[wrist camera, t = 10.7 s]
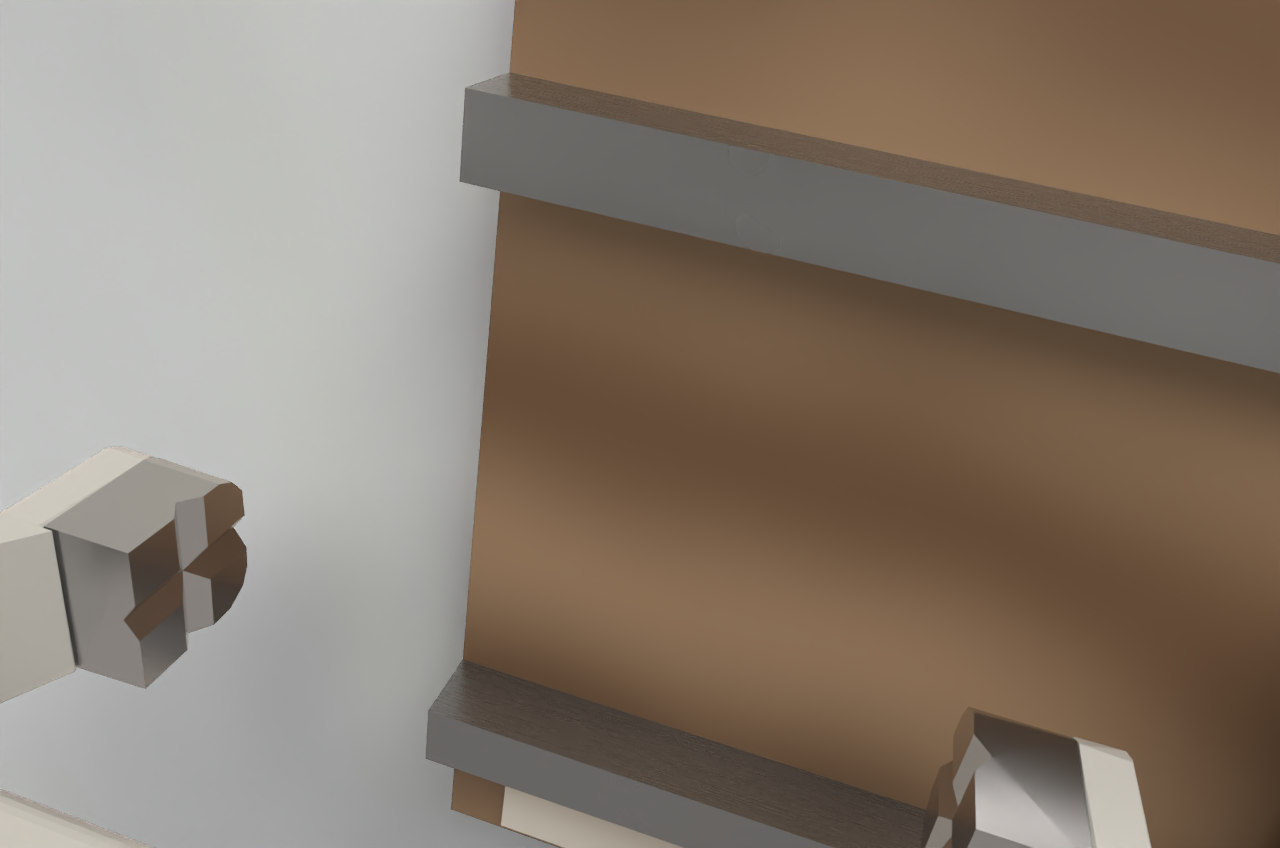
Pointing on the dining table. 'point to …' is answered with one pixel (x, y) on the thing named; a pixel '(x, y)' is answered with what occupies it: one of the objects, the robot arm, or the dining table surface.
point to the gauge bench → (890, 422)
